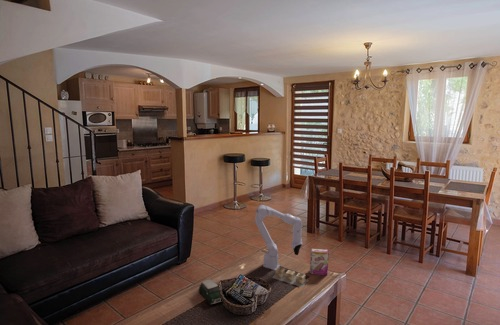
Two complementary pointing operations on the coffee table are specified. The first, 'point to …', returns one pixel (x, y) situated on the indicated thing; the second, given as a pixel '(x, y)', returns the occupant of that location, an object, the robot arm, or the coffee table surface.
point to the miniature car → (210, 291)
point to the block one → (280, 272)
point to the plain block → (290, 275)
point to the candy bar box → (319, 261)
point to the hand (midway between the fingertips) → (296, 254)
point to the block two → (300, 278)
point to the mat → (290, 281)
